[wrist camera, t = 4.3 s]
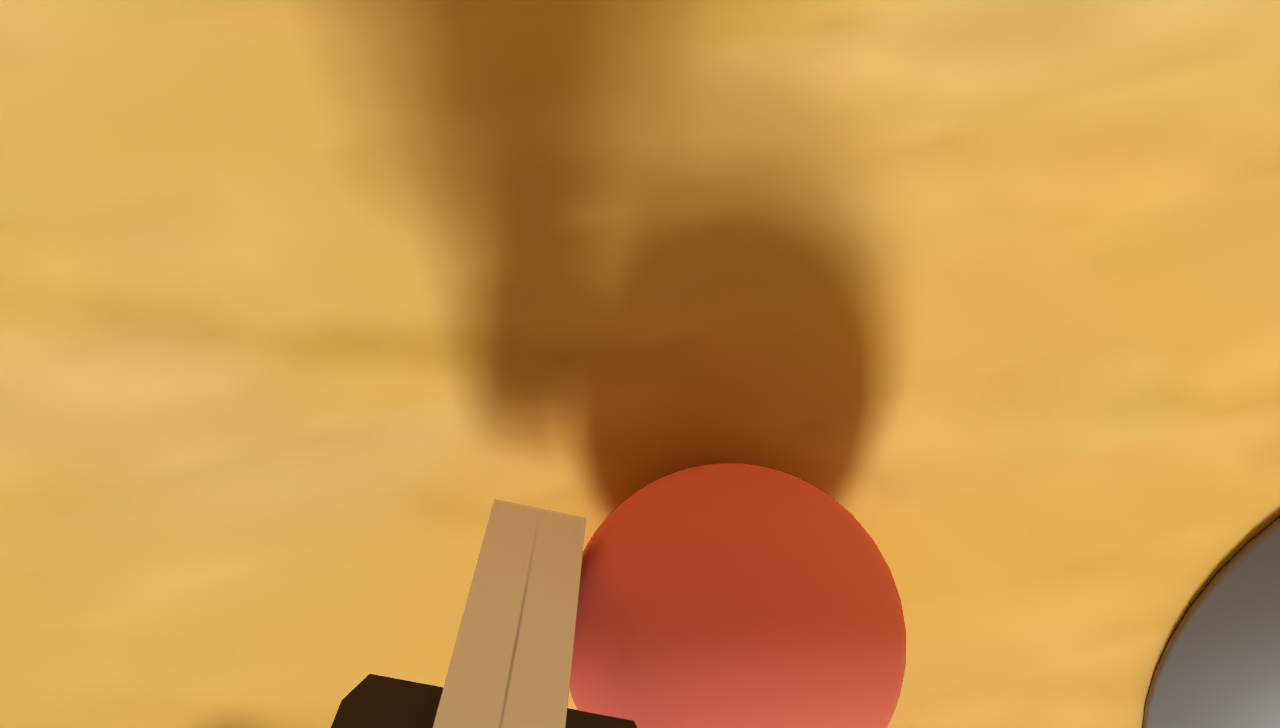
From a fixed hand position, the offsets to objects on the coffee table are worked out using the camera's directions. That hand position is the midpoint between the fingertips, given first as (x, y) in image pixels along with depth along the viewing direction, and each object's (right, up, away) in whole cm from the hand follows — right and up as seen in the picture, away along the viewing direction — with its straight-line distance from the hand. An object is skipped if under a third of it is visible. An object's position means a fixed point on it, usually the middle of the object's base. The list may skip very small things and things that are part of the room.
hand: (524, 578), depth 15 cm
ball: (+3, -1, 0) cm, 4 cm away
